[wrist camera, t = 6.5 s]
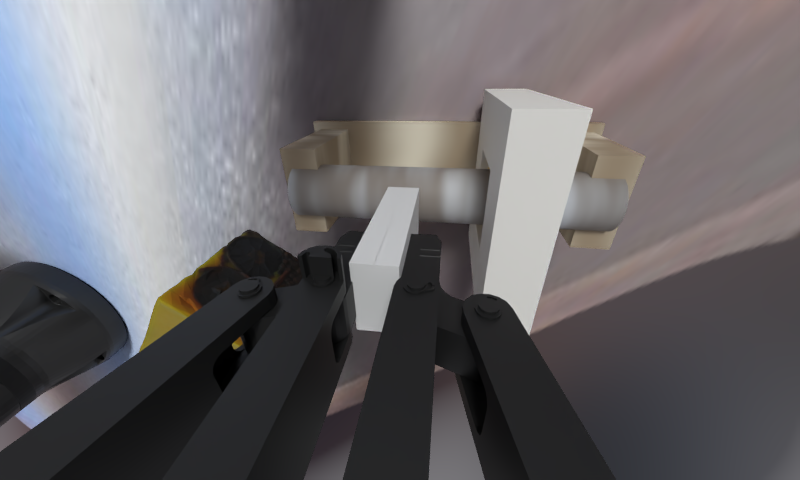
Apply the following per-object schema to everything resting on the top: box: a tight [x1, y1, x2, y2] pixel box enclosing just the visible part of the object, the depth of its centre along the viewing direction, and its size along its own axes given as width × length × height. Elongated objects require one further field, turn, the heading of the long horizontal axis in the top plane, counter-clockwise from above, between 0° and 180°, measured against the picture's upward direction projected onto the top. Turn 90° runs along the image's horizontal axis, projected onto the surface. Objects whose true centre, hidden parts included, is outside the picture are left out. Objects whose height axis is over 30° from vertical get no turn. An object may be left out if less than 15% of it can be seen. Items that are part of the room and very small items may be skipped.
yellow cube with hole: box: [139, 230, 302, 352], centre depth 26 cm, size 10×10×10 cm
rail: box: [280, 121, 646, 249], centre depth 18 cm, size 19×6×8 cm, turn 91°
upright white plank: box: [468, 89, 593, 334], centre depth 16 cm, size 2×10×10 cm, turn 1°
